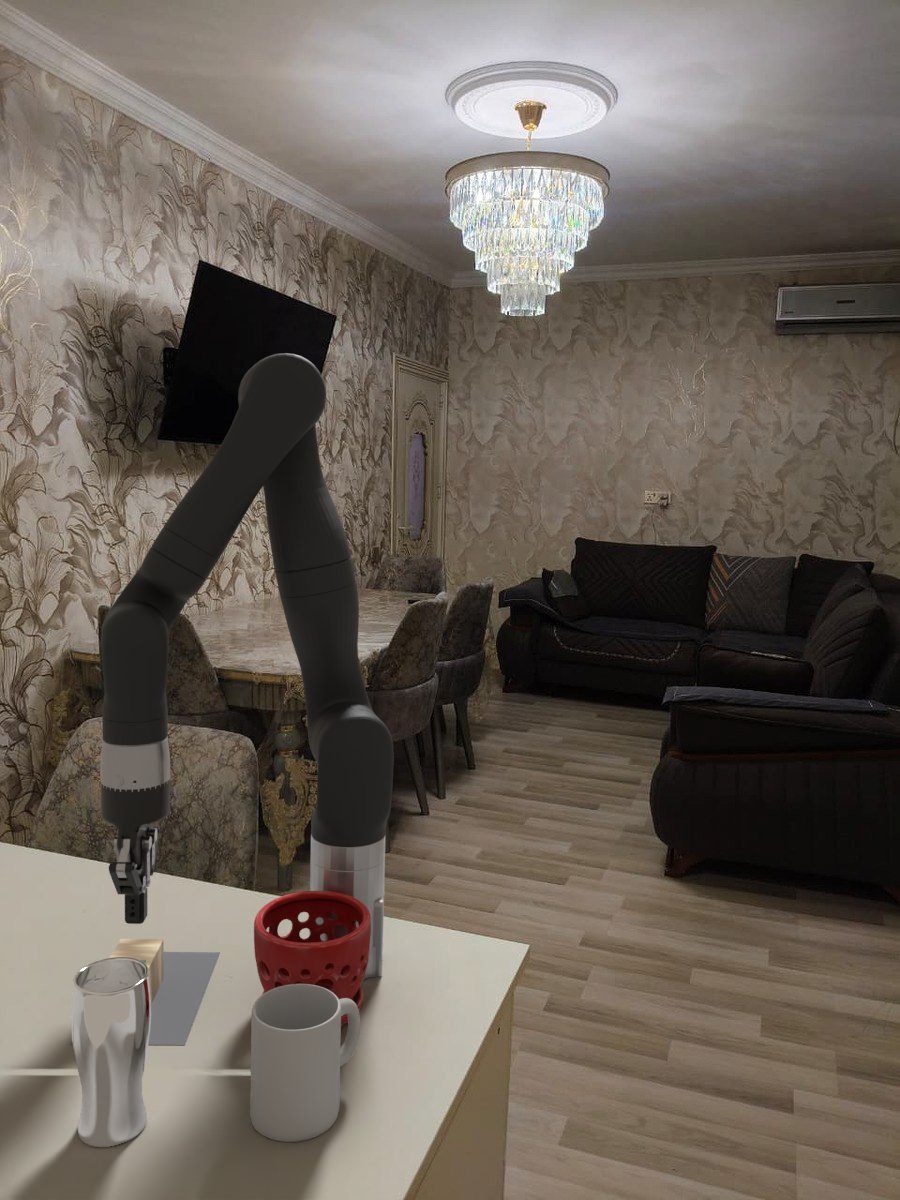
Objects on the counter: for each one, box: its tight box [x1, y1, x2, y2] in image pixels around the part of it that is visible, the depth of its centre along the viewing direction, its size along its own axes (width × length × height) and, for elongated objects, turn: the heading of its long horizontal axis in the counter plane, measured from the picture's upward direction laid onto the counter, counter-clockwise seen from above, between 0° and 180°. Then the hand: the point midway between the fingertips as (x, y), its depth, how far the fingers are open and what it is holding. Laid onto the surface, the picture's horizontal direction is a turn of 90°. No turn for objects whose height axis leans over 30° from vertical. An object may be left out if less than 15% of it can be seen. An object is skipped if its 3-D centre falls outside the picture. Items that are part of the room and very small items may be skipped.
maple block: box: [109, 938, 164, 1004], centre depth 108 cm, size 5×5×12 cm
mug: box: [249, 984, 361, 1143], centre depth 92 cm, size 12×8×11 cm
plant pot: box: [253, 890, 371, 1027], centre depth 108 cm, size 13×13×12 cm
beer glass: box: [70, 957, 151, 1148], centre depth 88 cm, size 7×7×15 cm
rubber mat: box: [69, 951, 221, 1046], centre depth 111 cm, size 12×20×1 cm, turn 3°
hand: (136, 920), depth 110 cm, fingers closed
